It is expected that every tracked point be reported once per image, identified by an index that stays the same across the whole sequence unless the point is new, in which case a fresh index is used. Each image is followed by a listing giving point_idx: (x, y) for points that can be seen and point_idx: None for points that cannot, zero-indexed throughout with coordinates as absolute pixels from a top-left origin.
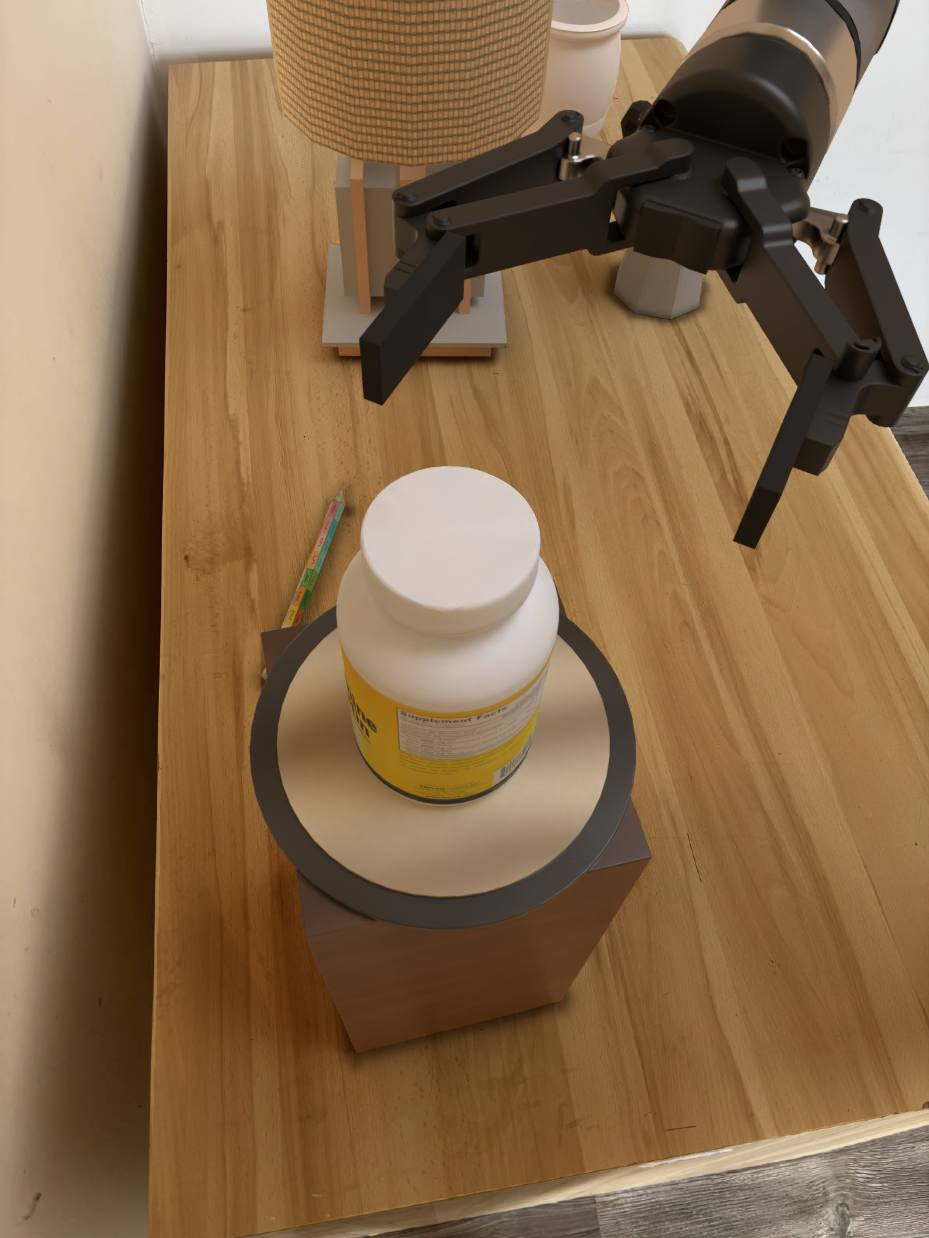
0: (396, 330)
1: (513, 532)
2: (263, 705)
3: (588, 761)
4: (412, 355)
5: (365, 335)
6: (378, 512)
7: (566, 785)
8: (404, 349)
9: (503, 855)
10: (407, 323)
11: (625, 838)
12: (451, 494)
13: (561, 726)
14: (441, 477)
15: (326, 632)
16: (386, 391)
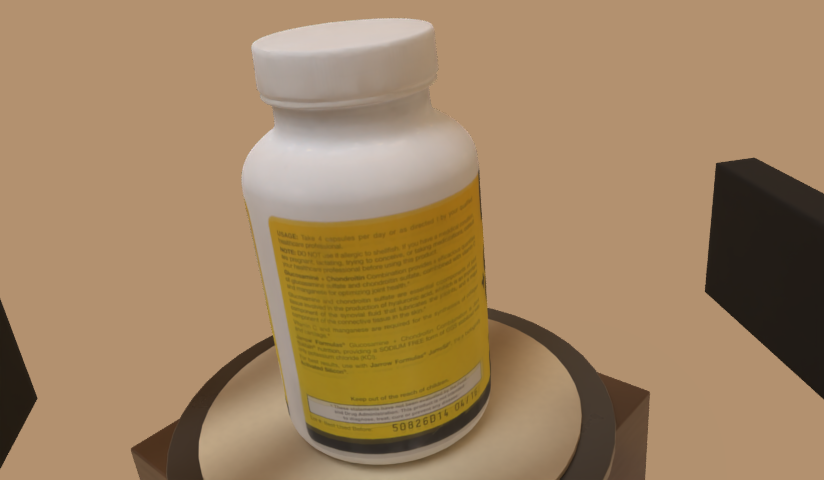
0: (751, 198)
1: (286, 44)
2: (560, 343)
3: (223, 456)
4: (777, 329)
5: (753, 160)
6: (417, 22)
7: (238, 429)
8: (761, 275)
9: (271, 367)
10: (775, 230)
11: (162, 446)
12: (368, 37)
13: (270, 467)
14: (391, 36)
15: (588, 411)
16: (715, 281)
